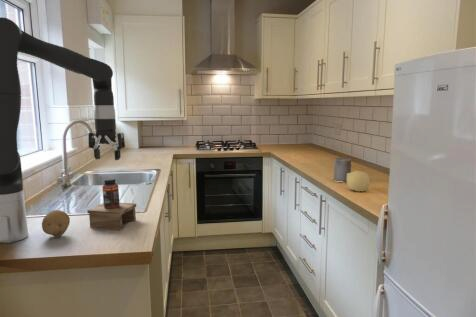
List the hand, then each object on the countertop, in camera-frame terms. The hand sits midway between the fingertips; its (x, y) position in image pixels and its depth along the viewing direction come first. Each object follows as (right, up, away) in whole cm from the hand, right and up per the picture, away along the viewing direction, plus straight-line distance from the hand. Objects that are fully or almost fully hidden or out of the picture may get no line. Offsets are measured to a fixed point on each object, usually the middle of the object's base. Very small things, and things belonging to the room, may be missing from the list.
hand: (107, 159), depth 136 cm
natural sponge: (-15, -28, -9) cm, 33 cm away
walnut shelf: (+1, -26, +4) cm, 26 cm away
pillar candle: (+113, -14, +75) cm, 137 cm away
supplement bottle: (+1, -19, +3) cm, 19 cm away
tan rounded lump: (+115, -17, +53) cm, 128 cm away
